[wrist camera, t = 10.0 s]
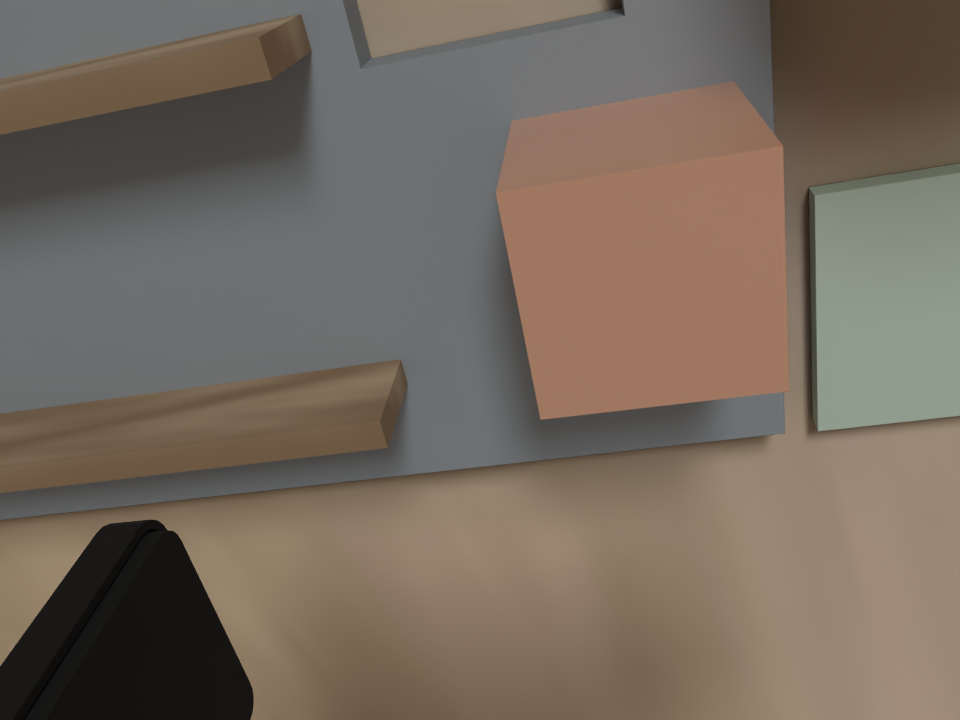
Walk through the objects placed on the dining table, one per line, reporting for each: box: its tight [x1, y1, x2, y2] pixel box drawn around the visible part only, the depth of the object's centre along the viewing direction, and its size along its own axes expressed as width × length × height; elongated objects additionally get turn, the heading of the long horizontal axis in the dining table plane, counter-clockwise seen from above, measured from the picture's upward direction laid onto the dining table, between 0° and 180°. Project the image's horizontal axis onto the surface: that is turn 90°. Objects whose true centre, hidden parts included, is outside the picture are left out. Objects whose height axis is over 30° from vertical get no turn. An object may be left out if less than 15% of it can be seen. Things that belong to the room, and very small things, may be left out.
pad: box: [809, 163, 960, 431], centre depth 22 cm, size 7×7×1 cm
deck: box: [0, 0, 785, 520], centre depth 22 cm, size 18×29×1 cm, turn 102°
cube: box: [496, 81, 789, 420], centre depth 18 cm, size 5×5×5 cm
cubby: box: [0, 14, 408, 493], centre depth 21 cm, size 10×17×3 cm, turn 102°
